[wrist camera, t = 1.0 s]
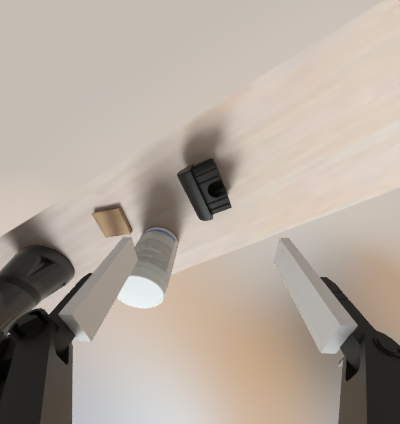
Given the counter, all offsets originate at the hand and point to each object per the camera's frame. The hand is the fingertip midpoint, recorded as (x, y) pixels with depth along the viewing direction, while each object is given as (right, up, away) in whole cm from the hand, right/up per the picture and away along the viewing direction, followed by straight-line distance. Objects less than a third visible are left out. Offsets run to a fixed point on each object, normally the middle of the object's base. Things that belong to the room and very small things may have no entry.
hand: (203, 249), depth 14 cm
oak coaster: (-22, +1, +24) cm, 32 cm away
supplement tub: (-11, -4, +26) cm, 28 cm away
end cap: (+1, +9, +19) cm, 21 cm away
